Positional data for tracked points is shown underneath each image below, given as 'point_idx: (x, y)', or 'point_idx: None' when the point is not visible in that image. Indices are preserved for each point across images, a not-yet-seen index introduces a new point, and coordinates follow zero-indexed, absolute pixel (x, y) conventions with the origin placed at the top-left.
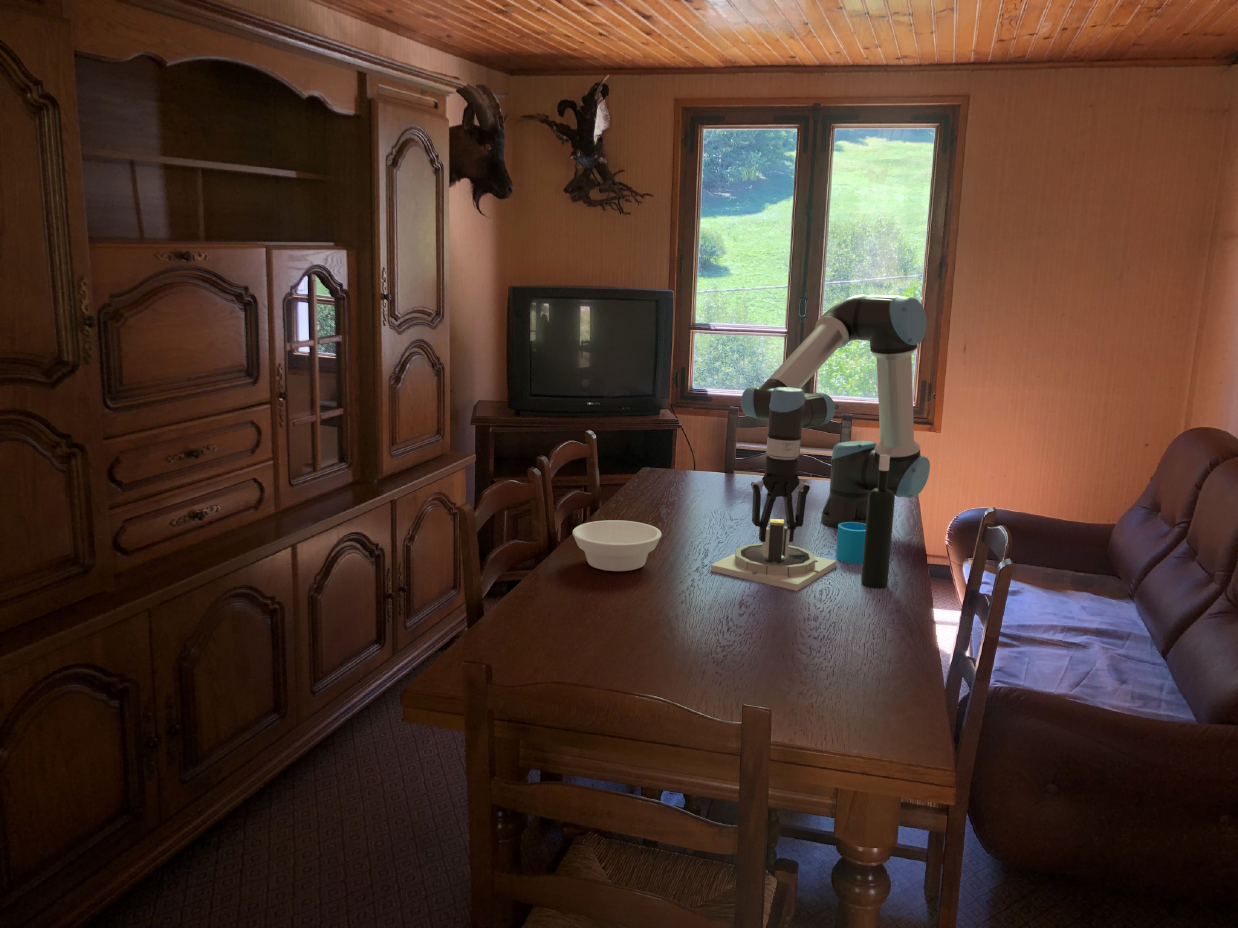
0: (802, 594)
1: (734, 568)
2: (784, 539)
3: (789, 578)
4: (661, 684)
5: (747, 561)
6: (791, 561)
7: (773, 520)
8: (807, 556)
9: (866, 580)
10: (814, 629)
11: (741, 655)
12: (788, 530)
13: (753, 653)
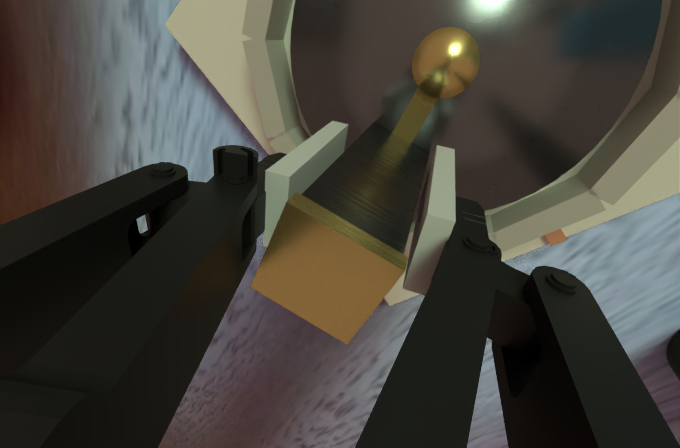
0: (393, 315)
1: (243, 98)
2: (420, 214)
3: None
4: None
5: (269, 134)
6: (460, 194)
7: (294, 260)
8: (668, 82)
9: (677, 371)
10: (317, 432)
11: (188, 426)
12: (414, 289)
13: (203, 430)
